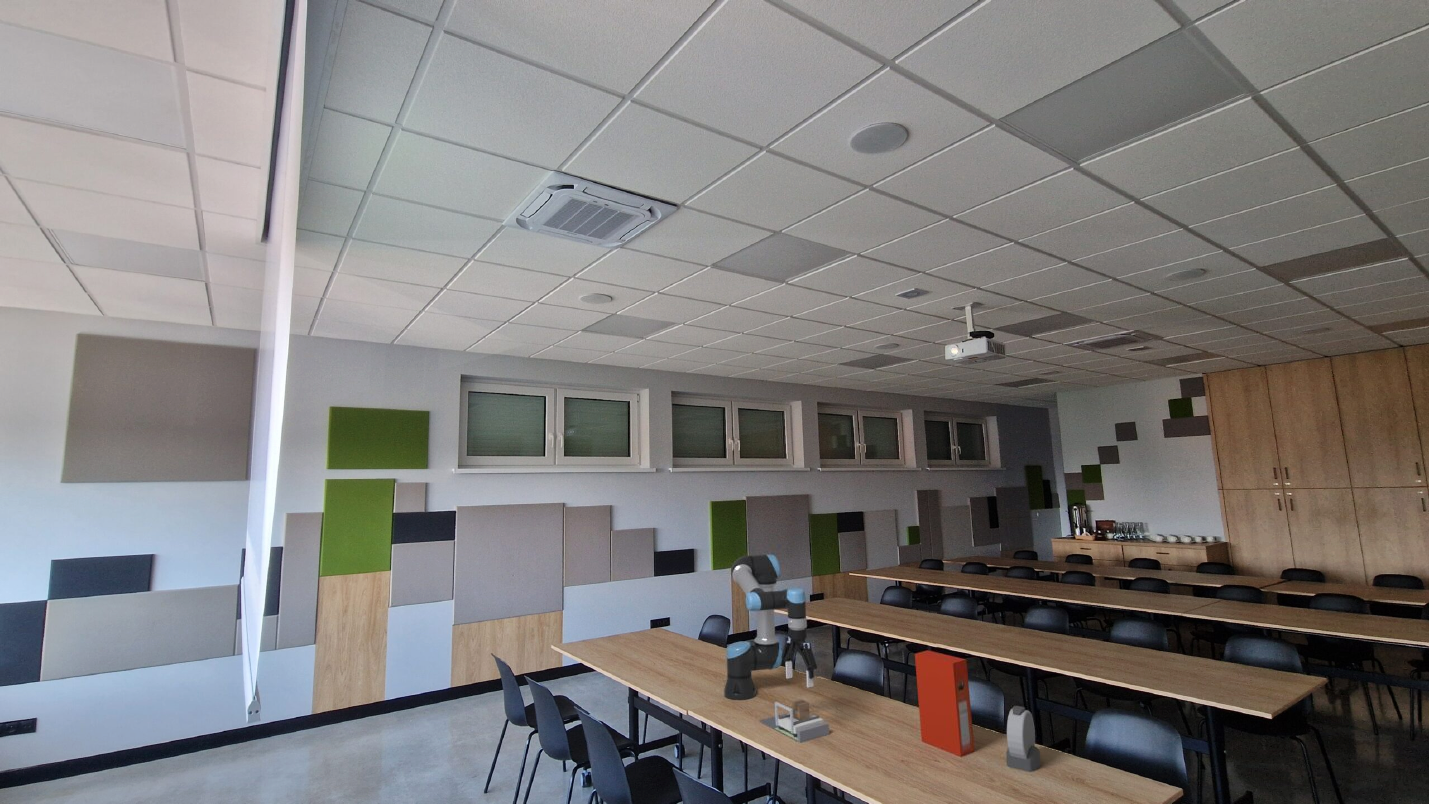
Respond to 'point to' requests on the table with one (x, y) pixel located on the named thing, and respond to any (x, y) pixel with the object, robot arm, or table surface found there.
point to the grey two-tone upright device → (1021, 741)
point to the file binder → (944, 702)
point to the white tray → (794, 720)
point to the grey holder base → (801, 734)
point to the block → (800, 709)
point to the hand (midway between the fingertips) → (799, 682)
